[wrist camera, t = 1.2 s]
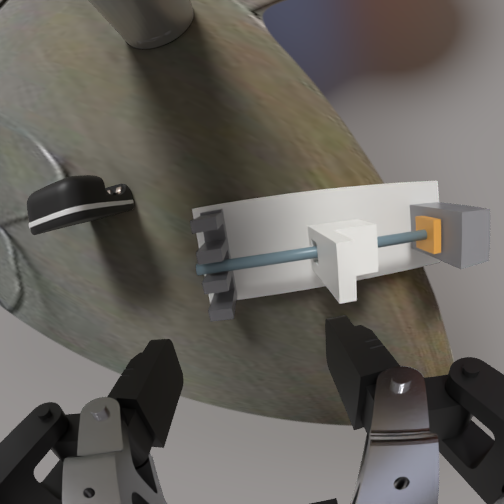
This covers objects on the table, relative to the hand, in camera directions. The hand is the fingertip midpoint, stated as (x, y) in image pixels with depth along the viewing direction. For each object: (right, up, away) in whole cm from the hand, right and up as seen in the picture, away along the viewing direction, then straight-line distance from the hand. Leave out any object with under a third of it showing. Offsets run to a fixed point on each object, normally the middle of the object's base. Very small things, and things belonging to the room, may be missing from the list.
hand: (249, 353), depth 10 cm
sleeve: (+8, +5, +15) cm, 17 cm away
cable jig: (+9, +5, +19) cm, 22 cm away
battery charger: (-16, +10, +18) cm, 26 cm away
